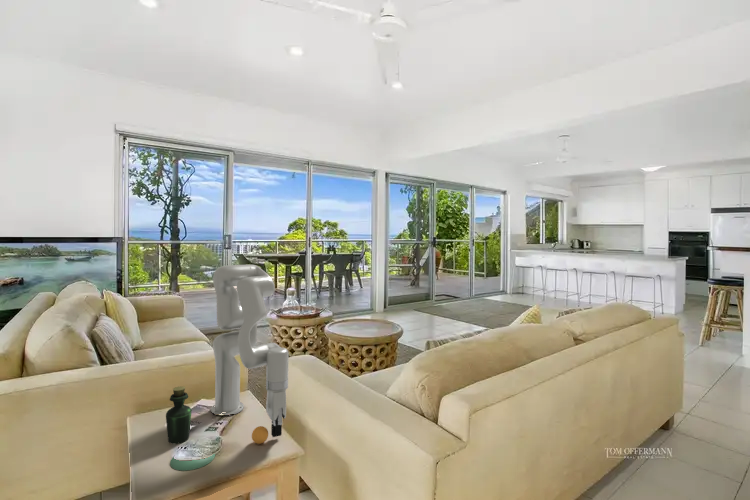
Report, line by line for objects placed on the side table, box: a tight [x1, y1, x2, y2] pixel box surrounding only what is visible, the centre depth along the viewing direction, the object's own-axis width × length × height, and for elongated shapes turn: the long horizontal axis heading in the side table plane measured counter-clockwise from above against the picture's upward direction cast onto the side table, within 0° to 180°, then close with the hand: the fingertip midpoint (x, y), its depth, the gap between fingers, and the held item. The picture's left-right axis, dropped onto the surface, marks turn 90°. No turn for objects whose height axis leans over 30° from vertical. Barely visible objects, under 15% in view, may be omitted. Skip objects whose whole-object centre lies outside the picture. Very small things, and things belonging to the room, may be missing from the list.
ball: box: [251, 425, 269, 445], centre depth 135 cm, size 6×6×6 cm
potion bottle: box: [165, 385, 193, 445], centre depth 136 cm, size 8×8×18 cm
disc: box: [169, 453, 216, 472], centre depth 125 cm, size 13×13×1 cm
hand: (276, 435), depth 138 cm, fingers closed
